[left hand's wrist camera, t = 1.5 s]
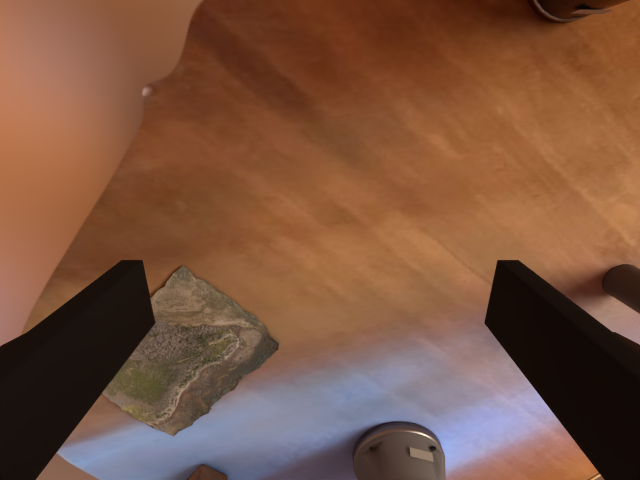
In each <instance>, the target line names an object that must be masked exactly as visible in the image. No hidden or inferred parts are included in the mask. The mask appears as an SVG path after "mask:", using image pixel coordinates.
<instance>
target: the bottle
mask: <svg viewBox="0 0 640 480" xmlns="http://www.w3.org/2000/svg"><path fill="white" fill-rule="evenodd" d="M603 288H604V290H605V291H606V292H607V293H608V294H610V295H611V296H613V297H614V298H616V299H618V300H619V301H621V302H622V303H624V304H625V305H627V306H628V307H630V308H632V309H633V310H635V311H636V312H638V313H639V314H640V269H639V268H637V267H635V266H633V265H628V264H624V265H619V266H617V267H615V268H613V269H612V270H610V271H609V272H608V273H607V275H606V276H605V278H604V280H603Z"/></svg>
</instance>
